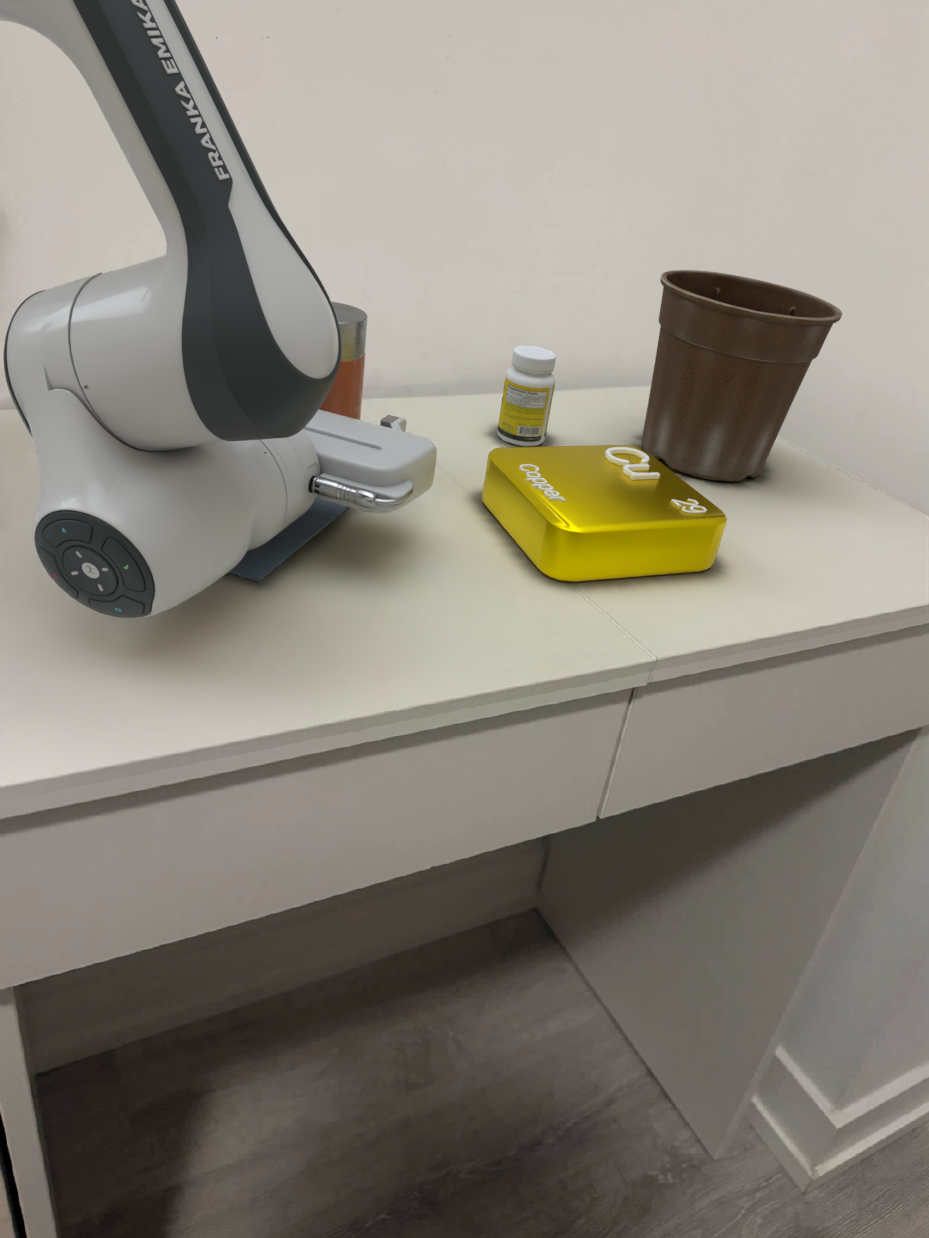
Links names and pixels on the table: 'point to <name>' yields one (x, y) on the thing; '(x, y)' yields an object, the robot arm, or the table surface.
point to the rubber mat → (287, 541)
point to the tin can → (348, 363)
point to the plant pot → (728, 370)
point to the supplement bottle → (527, 396)
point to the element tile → (601, 512)
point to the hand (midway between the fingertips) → (342, 412)
